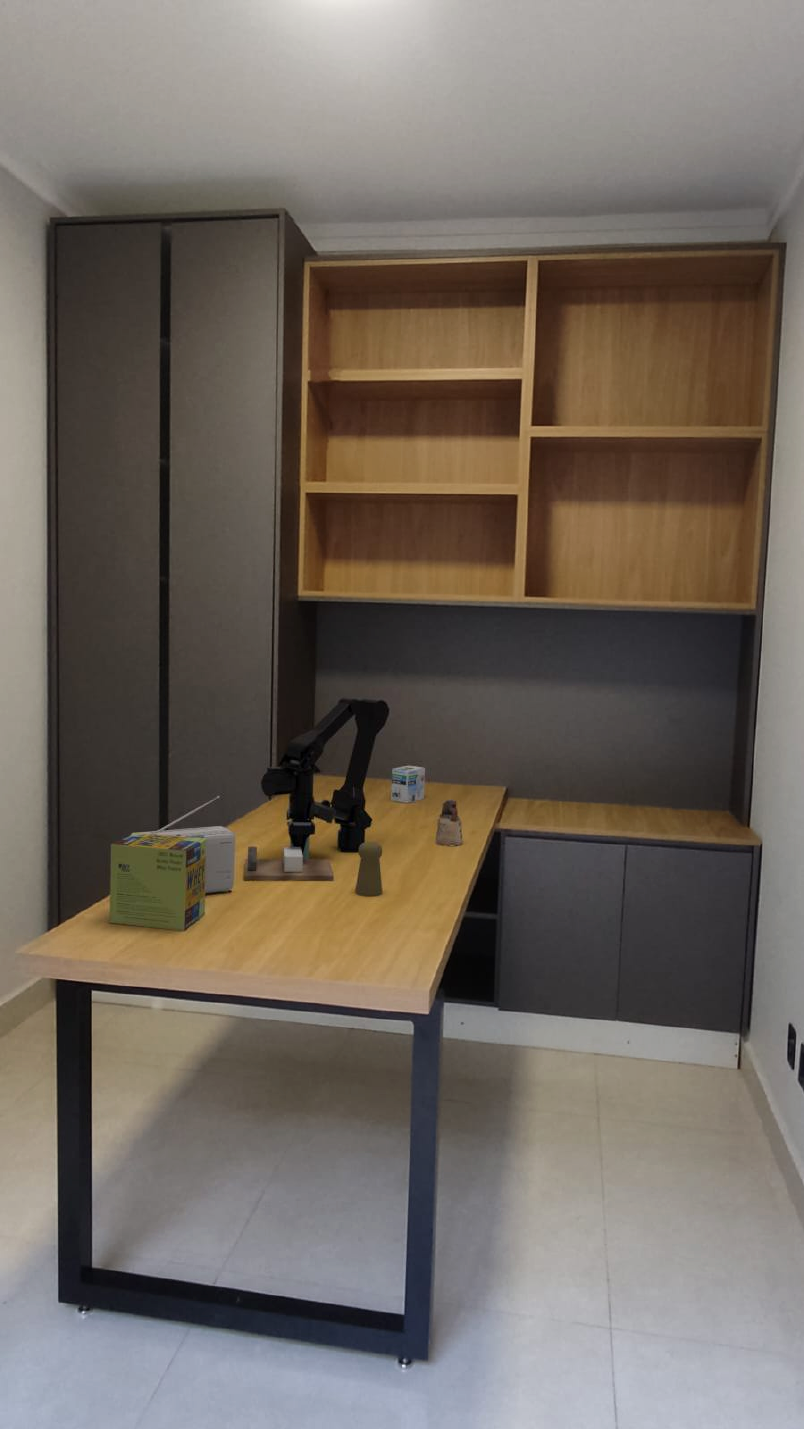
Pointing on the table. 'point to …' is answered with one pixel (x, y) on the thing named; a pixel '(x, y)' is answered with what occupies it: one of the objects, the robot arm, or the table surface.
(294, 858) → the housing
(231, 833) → the stereo radio cassette player
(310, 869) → the board
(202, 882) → the protein box
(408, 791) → the light bulb box
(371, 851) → the olive pepper mill
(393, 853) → the table surface
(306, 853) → the block
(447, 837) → the figurine
